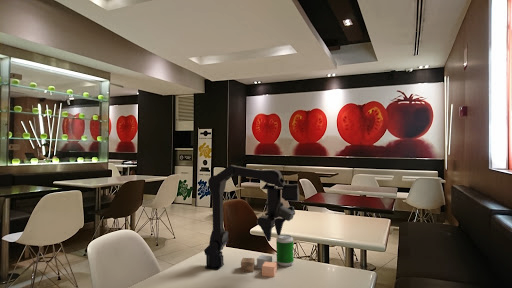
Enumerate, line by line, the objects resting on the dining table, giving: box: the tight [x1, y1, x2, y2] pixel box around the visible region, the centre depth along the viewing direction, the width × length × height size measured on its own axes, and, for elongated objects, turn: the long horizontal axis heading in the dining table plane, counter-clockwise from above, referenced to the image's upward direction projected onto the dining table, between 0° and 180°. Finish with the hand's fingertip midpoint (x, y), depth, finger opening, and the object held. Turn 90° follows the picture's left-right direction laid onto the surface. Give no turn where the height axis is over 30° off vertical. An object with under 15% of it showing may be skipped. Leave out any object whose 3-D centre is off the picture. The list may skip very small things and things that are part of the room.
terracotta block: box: [261, 261, 278, 278], centre depth 124 cm, size 5×5×4 cm
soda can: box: [276, 234, 295, 267], centre depth 134 cm, size 8×8×12 cm
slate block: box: [256, 254, 273, 269], centre depth 132 cm, size 5×5×4 cm
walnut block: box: [240, 257, 255, 273], centre depth 129 cm, size 5×5×4 cm
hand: (273, 238), depth 125 cm, fingers open, 9 cm apart
